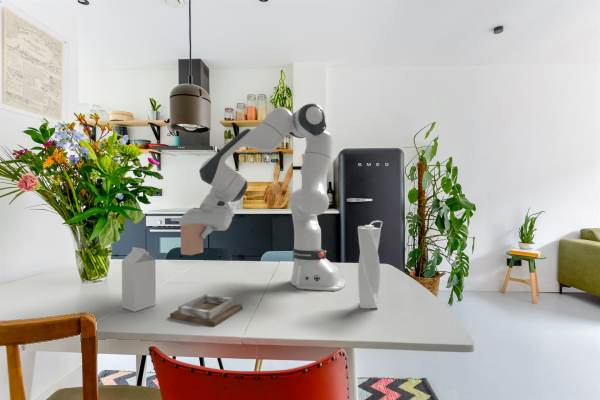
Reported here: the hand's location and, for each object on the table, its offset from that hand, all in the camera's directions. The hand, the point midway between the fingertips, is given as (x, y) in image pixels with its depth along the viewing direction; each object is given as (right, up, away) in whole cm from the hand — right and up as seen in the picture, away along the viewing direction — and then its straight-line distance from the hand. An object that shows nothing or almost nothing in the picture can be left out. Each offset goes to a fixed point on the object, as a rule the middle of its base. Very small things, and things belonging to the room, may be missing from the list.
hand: (194, 237), depth 108 cm
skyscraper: (+60, -22, -8) cm, 64 cm away
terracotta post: (-1, -5, -1) cm, 6 cm away
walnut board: (+9, -21, -14) cm, 27 cm away
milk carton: (-15, -22, -9) cm, 28 cm away
